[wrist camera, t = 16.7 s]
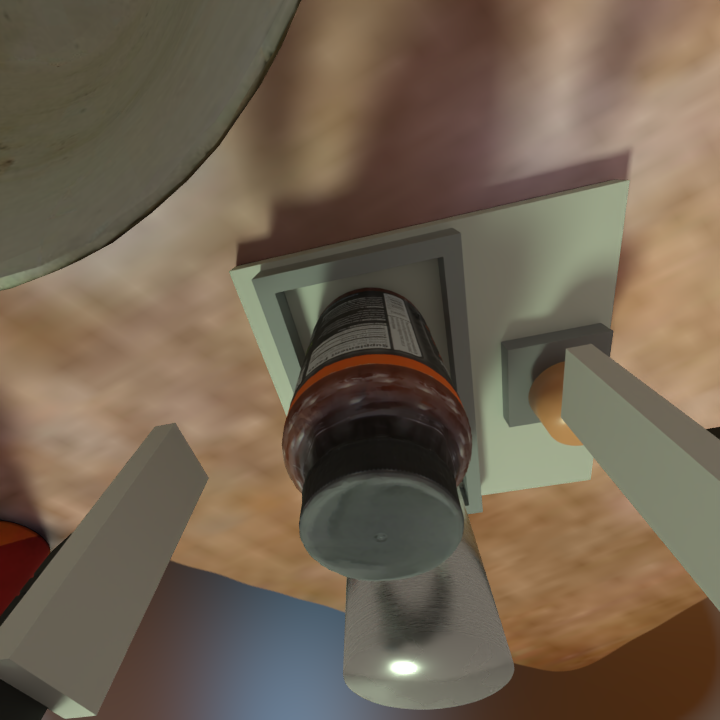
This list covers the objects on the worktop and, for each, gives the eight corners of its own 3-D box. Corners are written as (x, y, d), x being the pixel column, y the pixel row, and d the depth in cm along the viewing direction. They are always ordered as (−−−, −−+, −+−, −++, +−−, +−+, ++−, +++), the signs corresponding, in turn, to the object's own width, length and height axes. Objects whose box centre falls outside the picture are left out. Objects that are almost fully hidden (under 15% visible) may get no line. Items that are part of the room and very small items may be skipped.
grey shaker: (341, 425, 21) (323, 642, 11) (441, 408, 20) (513, 623, 11) (362, 493, 24) (362, 715, 14) (450, 480, 23) (514, 702, 13)
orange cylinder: (528, 367, 17) (548, 390, 15) (606, 353, 17) (635, 375, 15) (528, 424, 19) (545, 450, 17) (598, 413, 18) (623, 438, 17)
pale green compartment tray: (235, 266, 17) (217, 280, 15) (614, 179, 16) (656, 180, 13) (328, 505, 26) (324, 536, 24) (582, 468, 24) (604, 498, 22)
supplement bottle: (429, 381, 19) (500, 600, 10) (324, 392, 20) (286, 614, 10) (425, 275, 17) (520, 430, 7) (303, 290, 17) (220, 459, 7)
